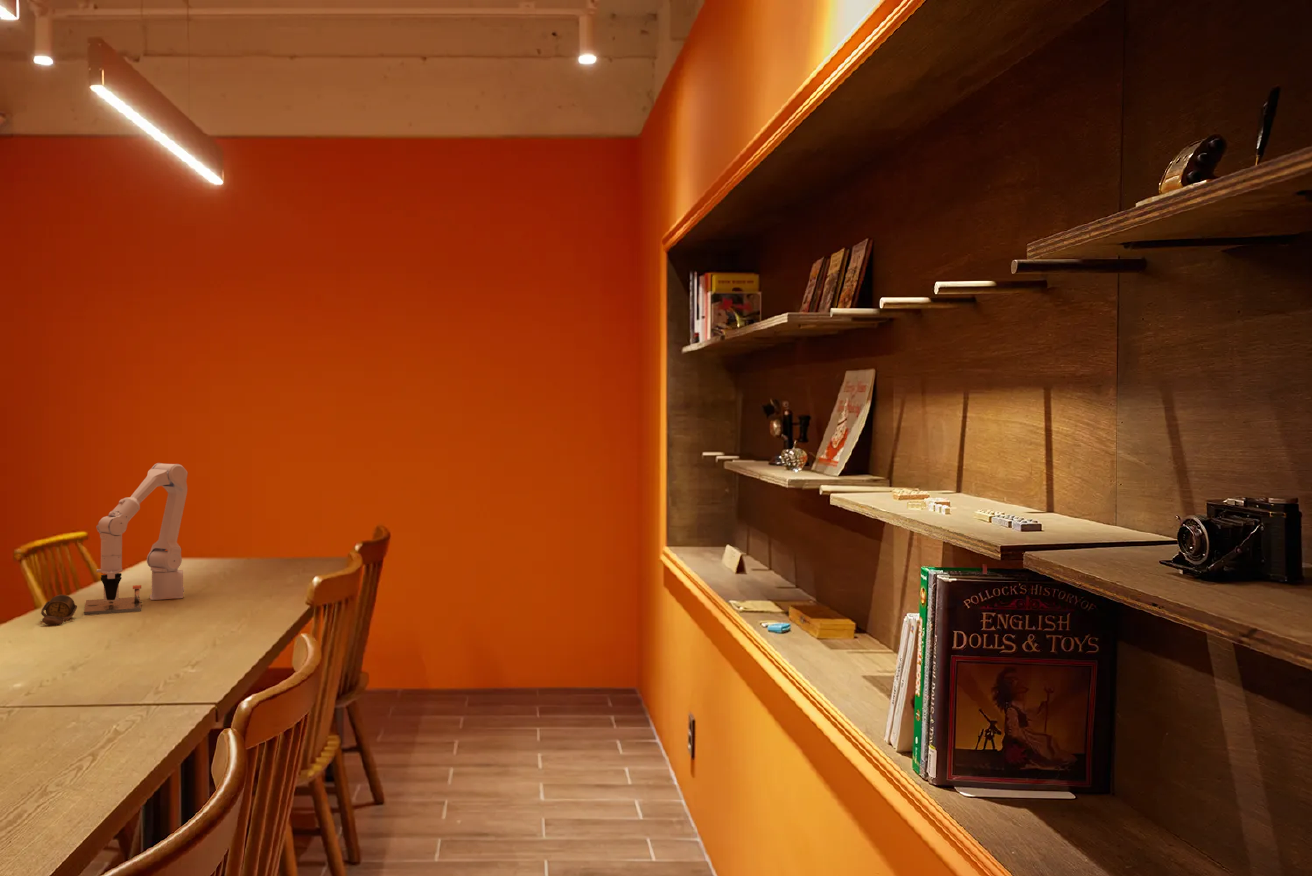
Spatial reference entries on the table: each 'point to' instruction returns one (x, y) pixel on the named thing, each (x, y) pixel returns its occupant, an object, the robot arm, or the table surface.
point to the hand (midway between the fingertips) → (111, 598)
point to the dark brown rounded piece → (58, 610)
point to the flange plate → (114, 604)
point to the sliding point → (115, 598)
